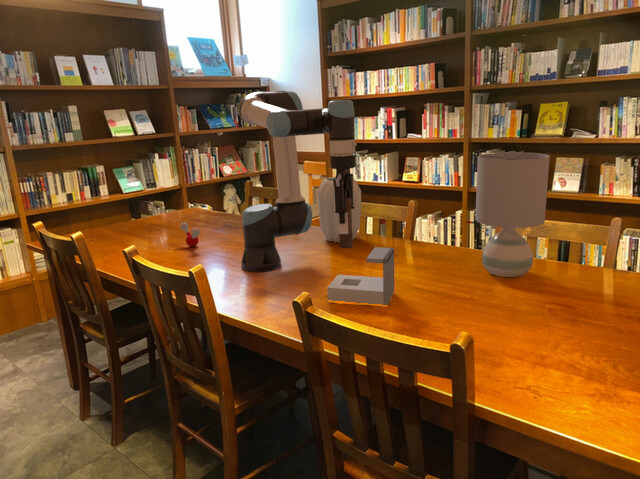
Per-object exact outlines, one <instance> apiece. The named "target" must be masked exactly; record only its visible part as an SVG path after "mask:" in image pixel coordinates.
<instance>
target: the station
mask: <svg viewBox="0 0 640 479" xmlns="http://www.w3.org/2000/svg"><path fill="white" fill-rule="evenodd" d="M366 263H367V264H368V263H371V264H382V277H379V276H377V277H376V276H365V275H348V274H337V275H336V276H335V277H334V279H333V280H332V281H331V282H330V284H329V285H328V286H327V287H326V288H327V290H326V291H327V292H326V293H327V294H326V295H327V301H328V300H332V301H345V302H356V303H368V304H382V305H388V303H389V301H390V299H391V297H392V295H393V292H394V293H395V248H394V247H378V246H375V247H374V248H373V249H372V250H371V252H370V253H369V255H368V256H367V257H366ZM393 296H394V295H393ZM392 298H393V297H392ZM391 300H392V299H391ZM390 302H391V301H390ZM389 304H390V303H389Z"/></svg>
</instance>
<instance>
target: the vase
mask: <svg viewBox="0 0 640 479" xmlns="http://www.w3.org/2000/svg"><path fill="white" fill-rule="evenodd" d="M335 177H336V176H333V177H332V176H331V177H326V178H323V180H322V181H321V182H320V185H319V186H318V189H317V191H316V197H317V200H316V201H317V206H318V207H317V210H318V217H319V218H318V219H319V223H320V224H319V225H320V230H321V231H322V233H323V235H324V237H325V239H326V240H327V241H329V242H330V241H334V242H333V243H336V242H338V243H340V240H339V222H338V213H335V211H336V210H335V191H334V183H333V180H334V179H335ZM353 203H354V204H353V206H354V209H352V238H353V240H354V239H355V237H356V236H357V234H358V232H359V230H360V227H361V213H362V210H361V209H362V208H361V207H362V189H361V188H360V186H359V185H358V183H357V181H356V179H355V178H354V177H353Z"/></svg>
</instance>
